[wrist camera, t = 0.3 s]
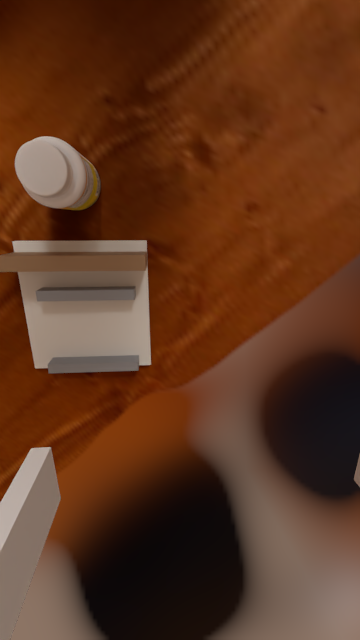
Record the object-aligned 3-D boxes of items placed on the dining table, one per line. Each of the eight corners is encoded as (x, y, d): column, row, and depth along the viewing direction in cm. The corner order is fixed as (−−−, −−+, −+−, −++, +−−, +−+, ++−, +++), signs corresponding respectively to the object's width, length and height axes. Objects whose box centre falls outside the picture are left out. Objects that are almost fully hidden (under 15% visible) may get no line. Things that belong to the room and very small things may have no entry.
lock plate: (16, 240, 33) (-8, 243, 29) (146, 240, 34) (144, 243, 30) (38, 364, 39) (21, 384, 34) (151, 361, 40) (149, 380, 35)
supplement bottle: (39, 179, 32) (-14, 160, 22) (76, 144, 31) (38, 108, 21) (76, 221, 33) (42, 221, 24) (112, 189, 32) (92, 175, 23)
